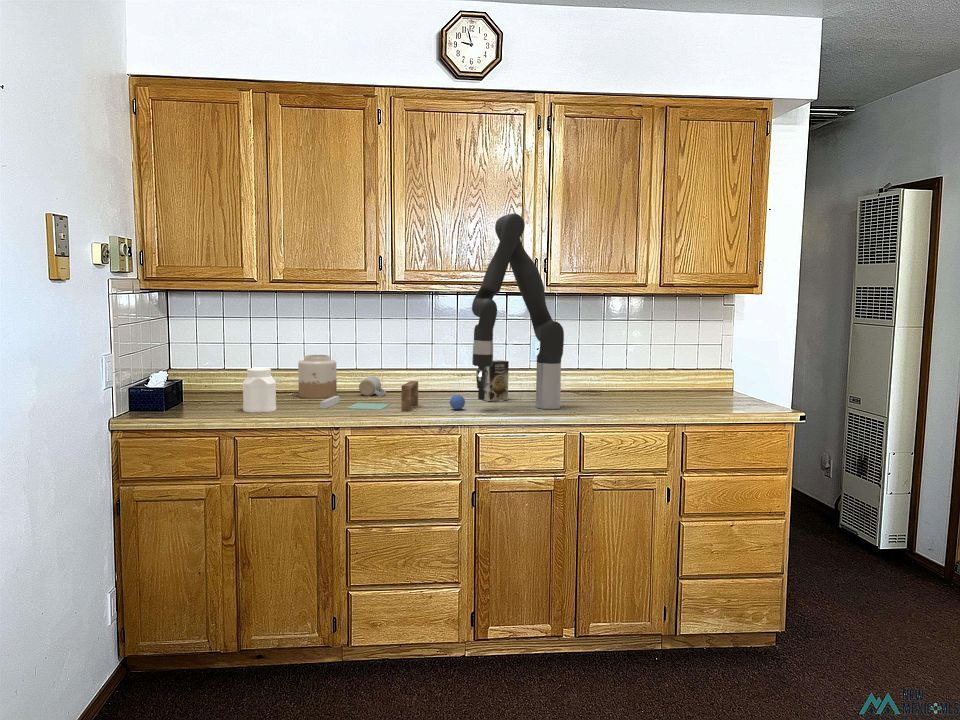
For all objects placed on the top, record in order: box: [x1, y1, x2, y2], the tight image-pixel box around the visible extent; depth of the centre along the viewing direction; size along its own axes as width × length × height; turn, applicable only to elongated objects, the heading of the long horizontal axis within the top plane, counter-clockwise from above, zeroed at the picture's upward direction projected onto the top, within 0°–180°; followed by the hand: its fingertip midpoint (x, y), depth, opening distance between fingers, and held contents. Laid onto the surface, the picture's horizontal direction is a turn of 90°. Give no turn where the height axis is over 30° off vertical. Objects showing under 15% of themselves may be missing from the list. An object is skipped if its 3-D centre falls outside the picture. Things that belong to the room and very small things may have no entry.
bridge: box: [400, 380, 419, 412], centre depth 278 cm, size 3×15×9 cm, turn 172°
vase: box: [297, 354, 338, 400], centre depth 305 cm, size 15×15×17 cm
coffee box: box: [483, 359, 510, 402], centre depth 300 cm, size 9×6×16 cm
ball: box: [449, 394, 466, 411], centre depth 276 cm, size 6×6×6 cm
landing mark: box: [346, 402, 391, 411], centre depth 281 cm, size 13×13×1 cm
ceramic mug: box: [358, 375, 387, 397], centre depth 310 cm, size 11×8×8 cm
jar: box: [242, 367, 277, 413], centre depth 269 cm, size 12×10×15 cm
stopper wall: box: [319, 395, 341, 410], centre depth 282 cm, size 2×16×2 cm, turn 172°
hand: (481, 399), depth 275 cm, fingers closed
